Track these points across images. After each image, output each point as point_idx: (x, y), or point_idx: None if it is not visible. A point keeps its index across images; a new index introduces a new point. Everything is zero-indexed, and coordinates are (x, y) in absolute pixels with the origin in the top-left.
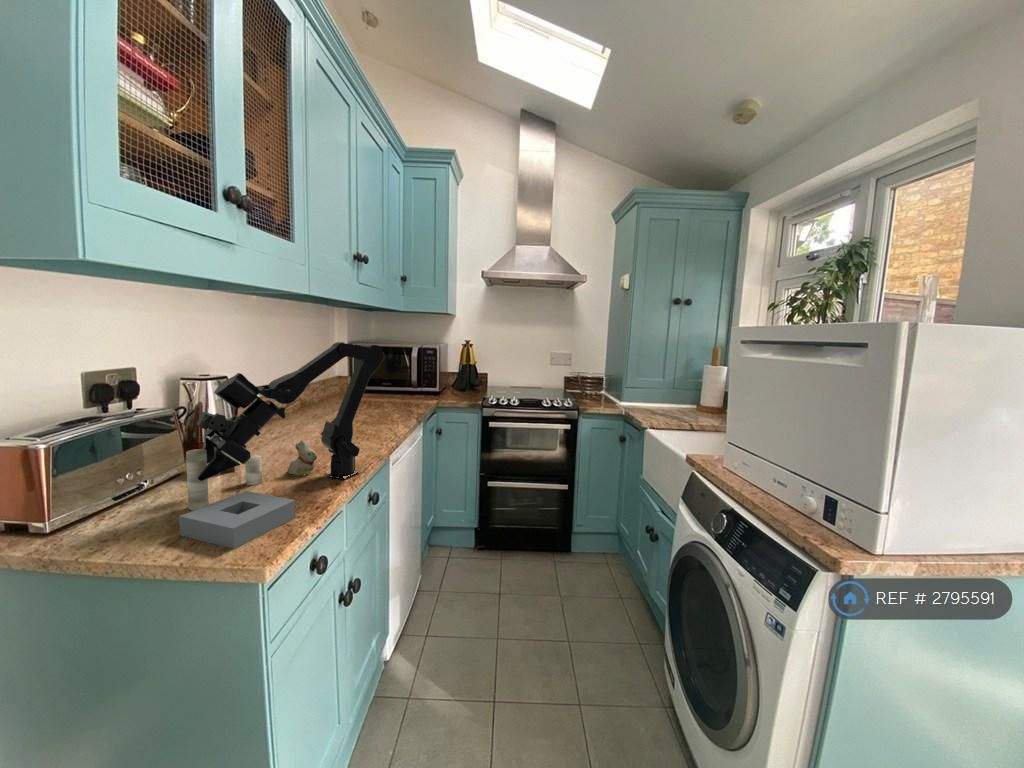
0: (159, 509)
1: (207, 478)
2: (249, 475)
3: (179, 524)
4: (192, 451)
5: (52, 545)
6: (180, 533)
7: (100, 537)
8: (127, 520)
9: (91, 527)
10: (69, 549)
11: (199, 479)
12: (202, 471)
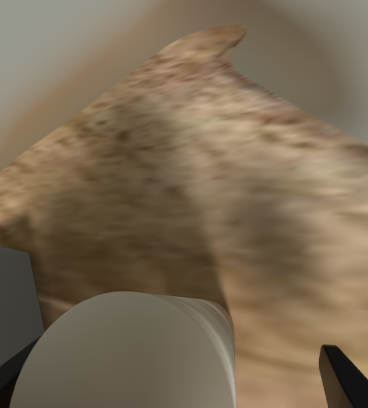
0: (259, 228)
1: None
2: None
3: (4, 247)
4: (132, 370)
5: (168, 73)
6: (23, 252)
7: (147, 128)
8: (219, 164)
9: (223, 109)
10: (126, 96)
11: None
12: (18, 365)
